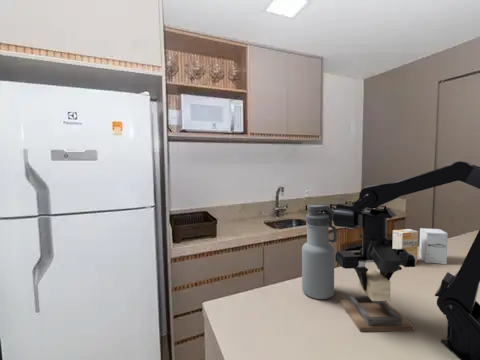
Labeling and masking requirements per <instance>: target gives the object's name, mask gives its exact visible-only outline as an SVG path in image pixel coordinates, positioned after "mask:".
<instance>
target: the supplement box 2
mask: <svg viewBox="0 0 480 360" xmlns="http://www.w3.org/2000/svg"><path fill="white" fill-rule="evenodd" d="M448 234H449V233H448V232H446V231H445V230H442V229H441V228H424V227H420V228H419V247H418V248H419V251H418V252H419V253H418V257H419V258H420V259H421V260H422V261H423V262H424V263H427V264H441V265H447V263H448V262H447V261H448V236H449V235H448Z"/></svg>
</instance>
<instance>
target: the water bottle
mask: <svg viewBox="0 0 480 360" xmlns="http://www.w3.org/2000/svg"><path fill="white" fill-rule="evenodd" d="M306 207H307V211H308V213H307V214H306V215H305V223H306V224H305V225H306V242H305V243H304V244H303V245H302V247H301V278H302V279H301V281H302V282H301V283H302V284H301V287H302V288H301V289H302V292H303V293H304V294H305V295H306V296H308V297H309V298H312V299H316V300H328V299H330V298H332V297H333V296H334V295H335V249H334V247H333V246H332V244H330V243H329V242H331V243H336V242H337V239H338V238H337V237H338V236H337V235H338V231H337V226H335V225H333V216H334V212H335V210H333V209H332V207H330V206H328V205H324V204H323V205H322V204H310V205H309V204H308V205H307V206H306ZM319 211H323V212H319ZM329 228H331V229H332V231H333V239H330V238H329Z"/></svg>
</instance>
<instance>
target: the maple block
mask: <svg viewBox="0 0 480 360" xmlns="http://www.w3.org/2000/svg"><path fill="white" fill-rule="evenodd" d="M366 277H367V290H366V291H365V290H364V289H363V287H362V285H361V282H360V280H359V279H358V287H359V288H360V290H361V291H362V292H363V293H364V295H367V296H368V297H369V298H370V299H371V300H372V301H387V302H391V281H390V280H388V279H387V278H385V277H384V276H383V275H381V274H380V271H378V270H377V269H368V271H367V273H366Z"/></svg>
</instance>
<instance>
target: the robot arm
mask: <svg viewBox="0 0 480 360" xmlns="http://www.w3.org/2000/svg"><path fill="white" fill-rule="evenodd" d="M458 181H459V182H462V183H465V184H467V185H469V186H471V187H475V188H476V189H478V190H480V166H478V165H475V164H472V163H471V162H469V161H466V160H465V161H463V160H461V161H455V162H453V163H451V164H449V165H446V166H443V167H439V168H437V169H434V170H430V171H427V172H423V173H421V174H417V175H414V176H411V177H408V178H404V179H401V180H398V181H393V182H386V183H385V182H384V183H379V184H373V185H367V186H364V187H363V188H361V189H360V192H359V195H358V196H359V198H358V199H356V201H355V202H354V204H347V203H344V202H343V203H337V204H336V209H335V210H334V216H333V220H332V224H333V226H334V227H336V228H337V227H339V228H344V229H350V230H358V228H360V227H362V228H361V229H362V230H361V231H362V232H361V233H359V234H360V235H359V238H361V241H362V242H361V243H362V244H361V247H362V248H361V247H360V249H359V252H360V253H361V254H355V253H354V252H353V251H351V250H338V251H337V252H336V253H335V254H334V261H335V262H336V263H337V264H338V265H340V267H341V268H342V269H346V270H347V269H354V271H355V273H356V274H357V277H358V281H359V280H360V282H361V285H362V287H363V289H364V290H365V291H366V290H367V277H366V273H367V271H368V270H369V268H368V267H366V263H374V264H375V265H376V267H377V269H378V270H379V273H380V274H381V275H383V276H384V277H385V278H387V279H388V280H389V281H390V280H391V278H392V276H393V274H395V272H398V271H401V270H403V268H402V266H403V267H404V268H415V267H416V265H417V263H416V259H415V257H414V256H413V255H412V254H410V253H408V252H407V251H406V250H405V249H392V246H391V241H390V238H388V237H387V231H388V228H387V227H388V226H387V225H388V221H387V219H393V218H395V217H396V216H397V214H396V213H395V212H394V211H392V209H391V208H390V207H388V206H387V207H385V208H384V209H377V208H378V207H381V206H384V205H387V204H389V203H392V202H393V201H396V200H398V199H400V198H401V197H403V196H407V195H410V194H414V193H417V192H421V191H424V190H425V191H426V190H428V189H433V188H436V187H440V186H443V185H446V184H450V183H453V182H458ZM367 209H371V210H370V211H366V210H367ZM364 210H365V211H364ZM479 286H480V229H479V230H478V232H477V234H476V236H475V237H474V240H473V241H472V244H471V246H470V247H469V250H468V252H467V254H466V256H465V258H464V260H463V262H462V264H461V266H460V268H459V270H458V271H457V272H456V273H455V274H454V275H453V274H452V273H450V272H449V271H447V272H446V274H445V275H444V277H443V278H442V280H441V283H440V285H439V288H437V290H436V292H435V294H434V297H437V299H436V305H437V307H438V309H439V311H440V312H441V313H442V314H443V315H445V318H446V322H447V331H446V334H447V335H446V337H447V339H441V340H440V342H441V344H443V346H444V347H446V348H447V349H448V350H449V351H450V352H452V353H453V354H454V355H455V357H457V358H458V359H459V360H480V302H478V301H477V297H478V292H479V288H480V287H479Z"/></svg>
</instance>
